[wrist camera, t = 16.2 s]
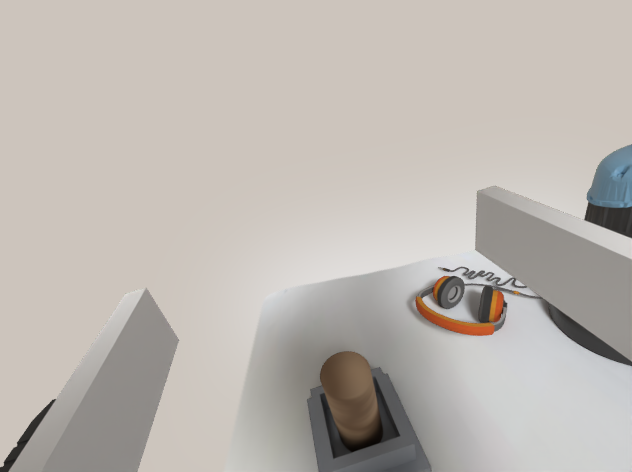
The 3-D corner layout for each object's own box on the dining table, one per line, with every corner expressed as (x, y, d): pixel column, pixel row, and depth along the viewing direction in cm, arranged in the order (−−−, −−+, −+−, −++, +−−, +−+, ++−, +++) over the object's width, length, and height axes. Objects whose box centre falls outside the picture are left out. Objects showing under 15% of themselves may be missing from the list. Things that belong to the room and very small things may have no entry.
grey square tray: (388, 378, 39) (384, 358, 37) (431, 472, 29) (429, 451, 28) (308, 403, 39) (301, 384, 37) (326, 508, 29) (317, 489, 27)
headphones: (558, 273, 45) (518, 334, 33) (552, 303, 47) (510, 372, 34) (449, 248, 57) (389, 285, 45) (447, 272, 59) (388, 315, 46)
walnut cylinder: (373, 402, 36) (361, 345, 31) (390, 445, 31) (378, 387, 27) (334, 415, 36) (316, 359, 31) (345, 460, 31) (325, 404, 27)
